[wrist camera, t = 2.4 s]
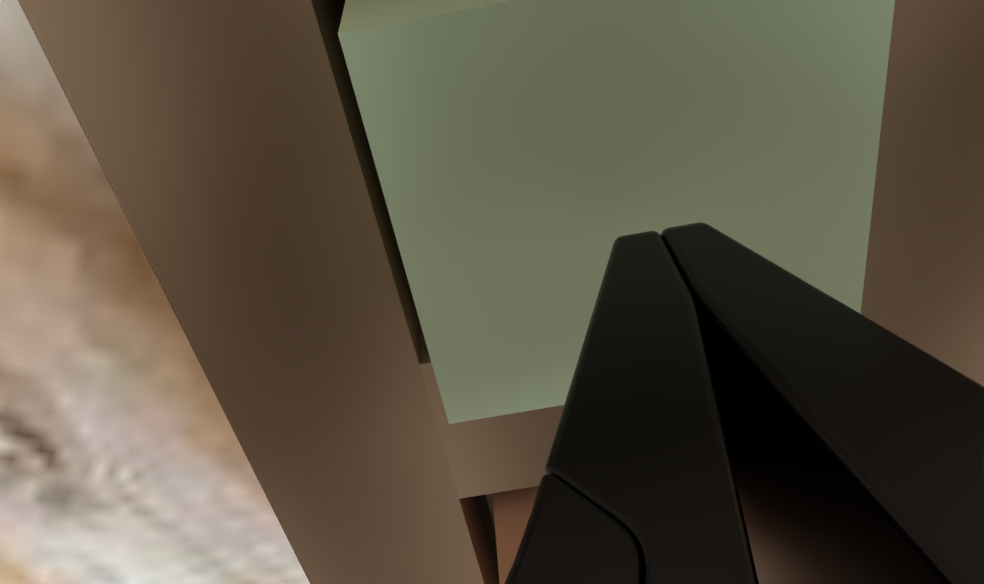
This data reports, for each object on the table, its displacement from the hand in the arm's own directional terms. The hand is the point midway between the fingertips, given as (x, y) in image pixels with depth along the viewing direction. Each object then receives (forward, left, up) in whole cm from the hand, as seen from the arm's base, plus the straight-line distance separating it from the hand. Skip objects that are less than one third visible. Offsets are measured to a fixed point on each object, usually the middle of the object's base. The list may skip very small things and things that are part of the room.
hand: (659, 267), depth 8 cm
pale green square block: (0, 0, -4) cm, 4 cm away
